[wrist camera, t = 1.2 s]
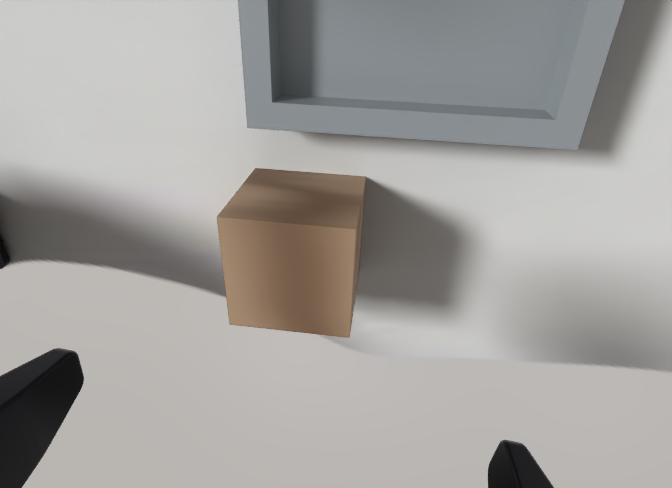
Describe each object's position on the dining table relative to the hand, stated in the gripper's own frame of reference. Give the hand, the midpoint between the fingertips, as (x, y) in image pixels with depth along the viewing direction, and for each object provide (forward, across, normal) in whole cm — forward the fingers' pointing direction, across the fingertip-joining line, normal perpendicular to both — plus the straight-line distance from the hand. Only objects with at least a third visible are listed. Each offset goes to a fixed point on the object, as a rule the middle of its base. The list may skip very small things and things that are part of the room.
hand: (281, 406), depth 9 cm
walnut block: (+12, +2, +2) cm, 13 cm away
